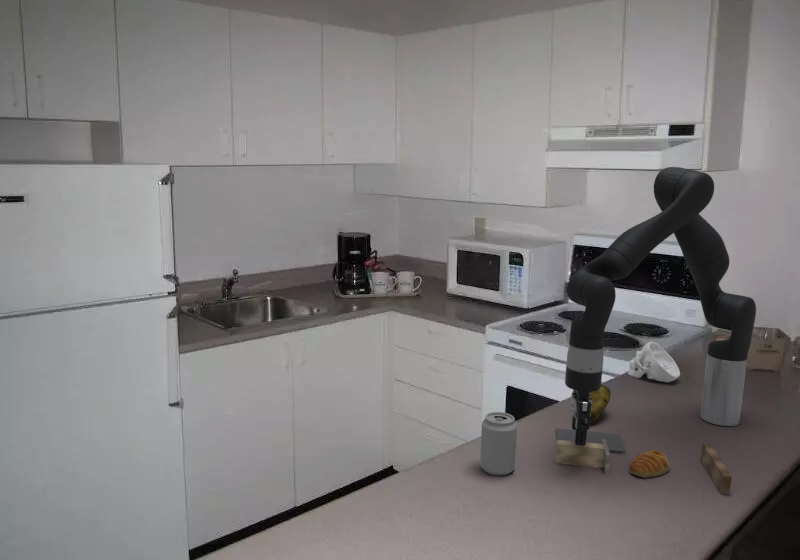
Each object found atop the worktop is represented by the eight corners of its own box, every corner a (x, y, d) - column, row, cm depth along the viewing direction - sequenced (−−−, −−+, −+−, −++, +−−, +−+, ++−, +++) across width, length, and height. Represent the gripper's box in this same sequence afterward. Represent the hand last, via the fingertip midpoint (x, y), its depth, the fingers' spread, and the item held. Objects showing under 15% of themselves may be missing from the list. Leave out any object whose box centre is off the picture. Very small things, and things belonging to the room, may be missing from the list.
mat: (555, 430, 165) (555, 428, 165) (618, 436, 163) (619, 433, 163) (557, 447, 156) (558, 445, 156) (625, 453, 153) (625, 451, 153)
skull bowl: (630, 363, 216) (653, 336, 210) (664, 394, 210) (689, 368, 204) (615, 369, 209) (639, 342, 203) (650, 403, 202) (676, 375, 196)
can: (517, 464, 147) (520, 412, 144) (511, 480, 140) (514, 425, 138) (483, 458, 149) (486, 407, 147) (476, 473, 142) (478, 420, 140)
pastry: (649, 484, 140) (651, 467, 139) (620, 472, 145) (621, 455, 144) (672, 471, 146) (673, 454, 145) (643, 460, 151) (645, 444, 150)
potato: (563, 417, 174) (565, 388, 172) (592, 406, 182) (594, 378, 180) (590, 428, 167) (593, 397, 166) (619, 416, 176) (622, 387, 174)
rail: (700, 459, 151) (702, 442, 151) (708, 460, 151) (710, 443, 150) (721, 493, 136) (723, 475, 135) (729, 494, 136) (731, 476, 135)
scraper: (556, 469, 145) (558, 449, 144) (554, 453, 153) (556, 434, 152) (608, 474, 143) (610, 454, 143) (604, 457, 151) (605, 439, 150)
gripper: (606, 377, 137) (599, 452, 139) (598, 357, 150) (592, 426, 153) (568, 374, 138) (562, 448, 141) (564, 355, 152) (558, 423, 154)
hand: (578, 436), depth 147 cm, fingers open, 8 cm apart
